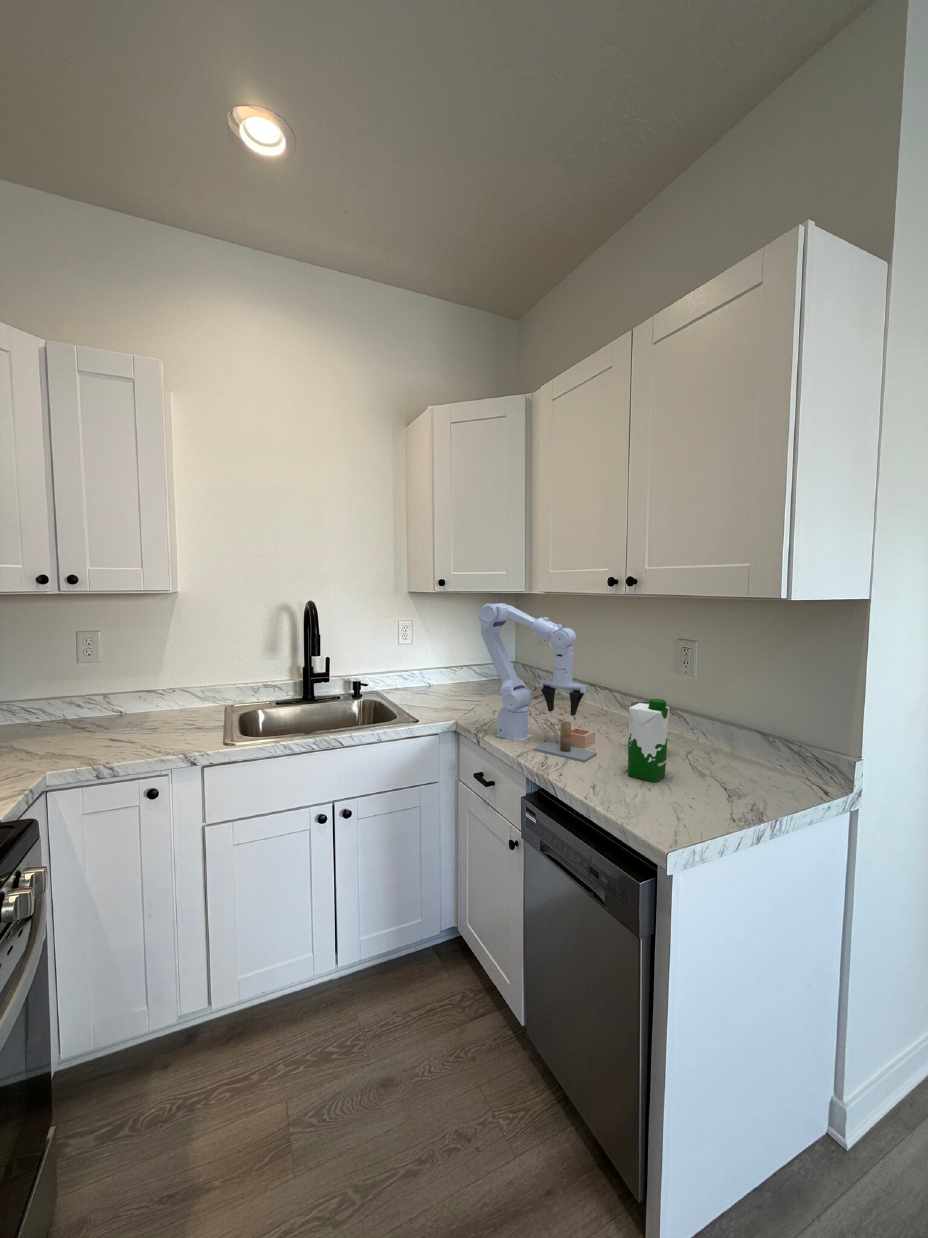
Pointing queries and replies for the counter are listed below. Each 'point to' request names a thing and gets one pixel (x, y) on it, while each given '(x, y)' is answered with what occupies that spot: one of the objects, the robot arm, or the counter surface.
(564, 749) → the peg
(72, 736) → the counter surface
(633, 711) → the milk carton
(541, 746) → the board
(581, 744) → the square hollow frame
